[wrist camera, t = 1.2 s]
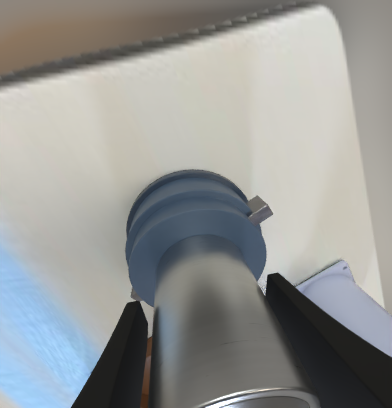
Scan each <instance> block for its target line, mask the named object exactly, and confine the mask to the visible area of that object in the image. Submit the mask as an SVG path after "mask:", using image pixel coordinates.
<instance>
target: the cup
mask: <svg viewBox="0 0 392 408" xmlns="http://www.w3.org/2000/svg"><path fill="white" fill-rule="evenodd" d="M320 406H321V401H320V397H319V395H318V393H317V391H316V389H315V387H314V386H313V384H312V382H311V380H310V378H309V376H308V375H307V373H306V371H305V369H304V367H303V365H302V364H301V362H300V360H299V358H298V356H297V354H296V353H295V351H294V349H293V347H292V345H291V343H290V342H289V340H288V338H287V336H286V334H285V332H284V331H283V329H282V327H281V325H280V323H279V321H278V320H277V318H276V316H275V314H274V312H273V310H272V309H271V307H270V305H269V303H268V301H267V299H266V298H265V296H264V294H263V292H262V290H261V288H260V287H259V285H258V283H257V281H256V279H255V277H254V275H253V274H252V272H251V270H250V268H249V266H248V264H247V263H246V261H245V259H244V257H243V255H242V253H241V252H240V250H239V249H238V247H237V246H236V245H235V244H233V243H232V242H231V241H229V240H227V239H225V238H222V237H219V236H215V235H198V236H193V237H189V238H186V239H184V240H182V241H179V242H178V243H176V244H174V245H173V246H172V247H170V248H169V249H168V250H167V251H166V252H165V253H164V255H163V256H162V257H161V259H160V261H159V263H158V266H157V270H156V285H155V301H154V316H153V332H152V348H151V364H150V379H149V395H148V408H320Z"/></svg>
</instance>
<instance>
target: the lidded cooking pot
mask: <svg viewBox="0 0 392 408" xmlns="http://www.w3.org/2000/svg"><path fill="white" fill-rule="evenodd" d="M271 215H273V213H272V211H271V209H270V208H269V206H268V204H266V203H265V202H264V201H263V200H262V199H261V198H260V197H258V196H256V197H254V198H253V199H251V200H250V201H248V200H247V198H246V196H245V195H244V194H243V192H242V191H241V190H240V189H239V188H238V187H237V186H236V185H235V184H234V183H233V182H231V181H230V180H228V179H227V178H225V177H223V176H221V175H219V174H216V173H213V172H209V171H204V170H183V171H178V172H174V173H171V174H168V175H165V176H163V177H161V178H159V179H157V180H156V181H154V182H153V183H151V184H150V185H149V186H148V187H147V188H145V189H144V190H143V191H142V193H141V194H140V195H139V196H138V197H137V199H136V201H135V202H134V204H133V206H132V208H131V211H130V213H129V217H128V221H127V228H126V232H127V241H126V249H125V252H126V260H127V264H128V267H129V269H128V270H129V278H130V282H131V284H132V292H131V298H133V299H134V300H136V301H140V302H141V301H145V302H146V303H147V304H148V305H150V306H152V307H154V301H155V285H156V270H157V266H158V263H159V261H160V259H161V257H162V256H163V255H164V253H165V252H166V251H167V250H168V249H169V248H170V247H172V246H173V245H174V244H176V243H178V242H179V241H182V240H184V239H186V238H189V237H193V236H198V235H215V236H219V237H222V238H225V239H227V240H229V241H231V242H232V243H233V244H235V245H236V246H237V247H238V249H239V250H240V252H241V253H242V255H243V257H244V259H245V261H246V263H247V264H248V266H249V268H250V270H251V272H252V274H253V275H254V277H255V279H256V281H258V279H259V278H260V276H261V274H262V272H263V270H264V267H265V263H266V245H265V242H264V239H263V237H262V233H261V227H260V224H259V223H261V222H262V221H264V220H265V219H267V218H268V217H270V216H271Z"/></svg>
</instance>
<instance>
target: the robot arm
mask: <svg viewBox="0 0 392 408" xmlns="http://www.w3.org/2000/svg"><path fill="white" fill-rule="evenodd" d="M265 298H266V299H267V301H268V303H269V305H270V307H271V309H272V310H273V312H274V314H275V316H276V318H277V320H278V321H279V323H280V325H281V327H282V329H283V331H284V332H285V334H286V336H287V338H288V340H289V342H290V343H291V345H292V347H293V349H294V351H295V353H296V354H297V356H298V358H299V360H300V362H301V364H302V365H303V367H304V369H305V371H306V373H307V375H308V376H309V378H310V380H311V382H312V384H313V386H314V387H315V389H316V391H317V393H318V395H319V397H320V401H321V406H320V408H392V316H391V315H390V314H389V313H388V312H387V311H386V310H385V309H384V308H382V307H381V306H380V305H379V304H378V303H377V302H376V301H375V300H373V299H372V298H371V297H370V296H369V295H368V294H367V293H366V292H364V291H363V290H362V289H361V288H360V287H359V286H358V285H357V284H356V283H355V280H354V278H353V275H352V273H351V271H350V268H349V266H348V263H347V262H346V261H344V260H342V261H339V262H338V263H336V264H334V265H333V266H331V267H329V268H327V269H326V270H324V271H322V272H320V273H319V274H317V275H315V276H314V277H312V278H310V279H308V280H307V281H305V282H303V283H301V284H300V285H298V286H296V287H294V286H293V285H292V284H291V283H290V282H288V281H287V280H286V279H285V278H284V277H283V276H281V275H280V274H279V273H274V274H269V275H268V276H267V286H266V295H265ZM147 340H148V322H147V320H146V317H145V314H144V312H143V309H142V306H141V304H140V301H134V302H129V303H127V304H126V306H125V308H124V311H123V313H122V315H121V317H120V319H119V321H118V324H117V326H116V328H115V330H114V332H113V334H112V336H111V338H110V340H109V342H108V344H107V346H106V348H105V349H104V351H103V353H102V355H101V357H100V359H99V361H98V362H97V364H96V366H95V368H94V370H93V371H92V373H91V375H90V377H89V378H88V380H87V382H86V384H85V385H84V387H83V389H82V390H81V392H80V394H79V395H78V397H77V399H76V400H75V402H74V403H73V405H72V407H71V408H140V403H141V395H142V387H143V378H144V370H145V362H146V353H147Z"/></svg>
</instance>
